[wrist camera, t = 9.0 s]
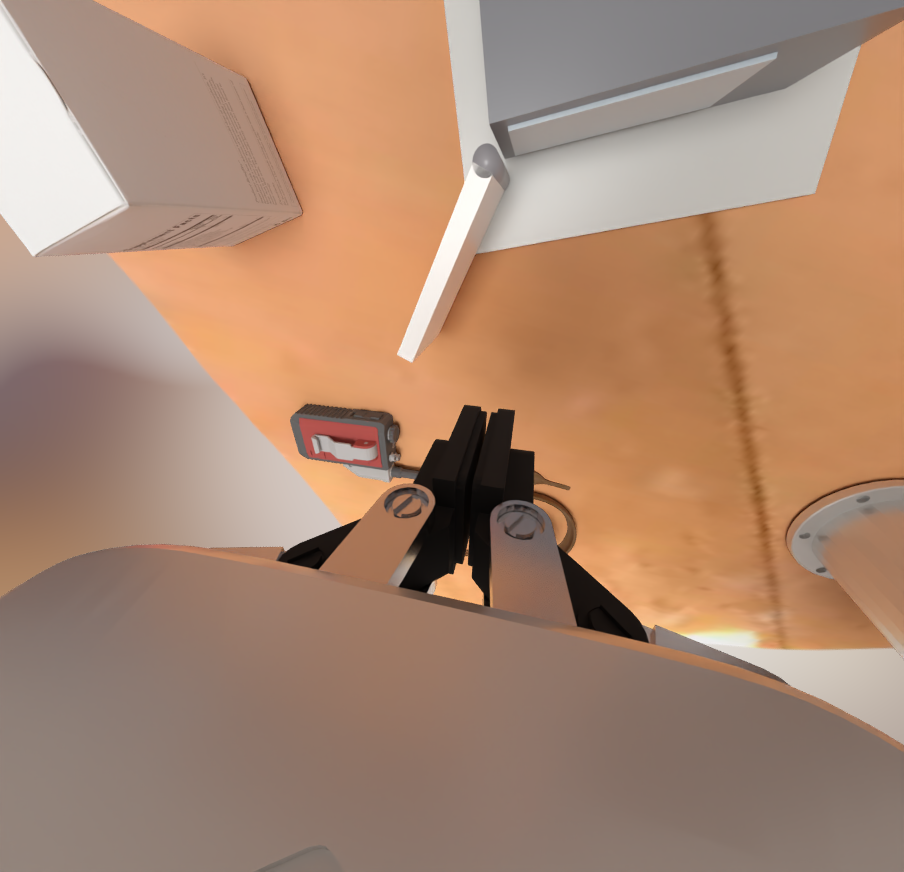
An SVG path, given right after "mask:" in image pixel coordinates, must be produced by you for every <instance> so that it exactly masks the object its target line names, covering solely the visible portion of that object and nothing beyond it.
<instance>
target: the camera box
mask: <svg viewBox="0 0 904 872" xmlns="http://www.w3.org/2000/svg"><path fill="white" fill-rule="evenodd" d="M444 6H445V15H446V24H447V32H448V41H449V50H450V59H451V67H452V76H453V85H454V94H455V102H456V111H457V120H458V128H459V137H460V146H461V155H462V163H463V172H464V181H466V178H467V176H468V173H469V171H470V168H471V165H472V160H473V155H474V153H475V151H476V149H477V148H478V147H479V146H480V145H482V144H485V143H489V144H492V145H493V146H494V147H495V148H496V149H497V151H498V153H499V155H500V157H501V159H502V161H503V163H504V165H505V167H506V169H507V171H508V173H509V177H510V181H509V185H508V187H507V188H506V190H504V193H503V195H502V197H501V199H500V201H499V204H498V206H497V208H496V210H495V212H494V215H493V217H492V219H491V221H490V223H489V225H488V228H487V230H486V232H485V234H484V236H483V239H482V241H481V243H480V245H479V247H478V250H477V252H476V254H479V253H485V252H491V251H496V250H502V249H507V248H513V247H519V246H524V245H530V244H535V243H541V242H547V241H552V240H558V239H563V238H569V237H575V236H580V235H586V234H591V233H597V232H603V231H608V230H614V229H619V228H625V227H631V226H636V225H642V224H647V223H653V222H659V221H664V220H670V219H675V218H681V217H687V216H692V215H698V214H703V213H709V212H715V211H720V210H726V209H731V208H737V207H743V206H748V205H754V204H759V203H765V202H771V201H776V200H782V199H787V198H793V197H799V196H804V195H810V194H815V192H816V188H817V185H818V182H819V179H820V176H821V172H822V169H823V166H824V163H825V159H826V156H827V153H828V150H829V147H830V143H831V140H832V137H833V134H834V131H835V127H836V124H837V121H838V118H839V114H840V111H841V108H842V105H843V102H844V98H845V95H846V92H847V89H848V85H849V82H850V79H851V76H852V73H853V69H854V66H855V63H856V60H857V57H858V53H859V50H860V47H861V44H863V43H865V42H867V41H868V40H870V39H872V38H873V37H875V36H877V35H879V34H880V33H882V32H884V31H886V30H887V29H889V28H891V27H892V26H894V25H896V24H898V23H899V22H901V21H903V20H904V0H444Z"/></svg>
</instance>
